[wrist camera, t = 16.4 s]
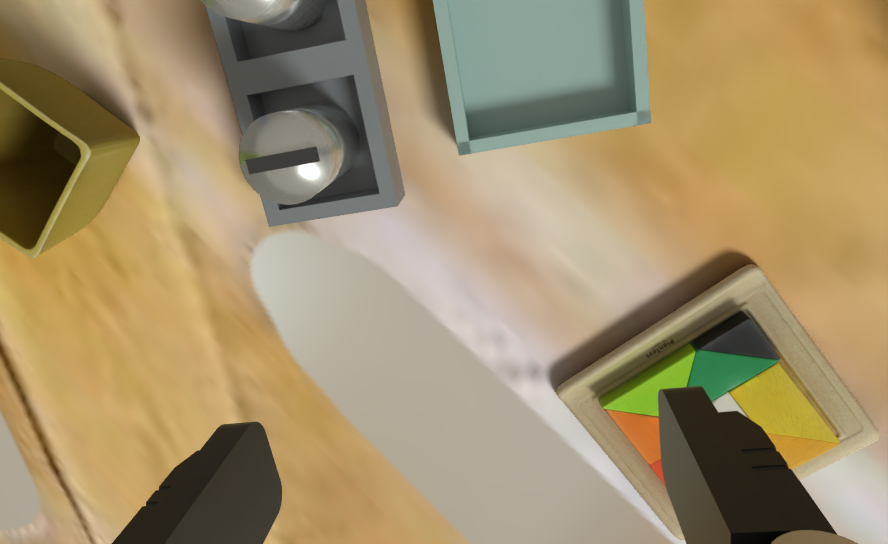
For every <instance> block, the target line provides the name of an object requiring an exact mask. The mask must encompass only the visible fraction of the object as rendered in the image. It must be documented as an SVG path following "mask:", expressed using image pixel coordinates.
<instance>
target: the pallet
mask: <svg viewBox="0 0 888 544" xmlns="http://www.w3.org/2000/svg"><path fill="white" fill-rule="evenodd" d="M206 10H207V13H208V17H209V20H210V24H211V27H212V30H213V34H214V37H215V41H216V44H217V48H218V51H219V55H220V58H221V62H222V65H223V69H224V72H225V75H226V79H227V82H228V86H229V89H230V93H231V96H232V100H233V103H234V107H235V110H236V113H237V117H238V120H239V124H240V127H241V131H242V134H244V132H245V131H246V129H247V128H248V127H249V125H250V124H251V123H252V122H254V121H255V120H256V119H258V118H260V117H262V116H264V115H267V114H271V113H275V112H279V111H284V110H288V109H293V108H297V107H301V106H306V105H310V104H315V103H327V104H332V105H335V106H337V107H339V108H341V109H342V110H344V111H345V112H346V113H347V114H348V115H349V116H350V117H351V118H352V120H353V121H354V123H355V124H356V126H357V129H358V131H359V135H360V152H359V155H358V158H357V160H356V162H355V163H354V165H353V166H352V167H351V168H350V169H349V170H348V171H347V172H346V173H344V174H343V175H341V176H340V177H339V178H337V179H336V180H335V181H333V182H332V183H331V184H329V185H328V186H327V187H325V188H324V189H323V190H321V191H320V192H319V193H317V194H316V195H315V196H313V197H312V198H310V199H309V200H307V201H305V202H302V203H298V204H292V205H284V204H278V203H275V202H272V201H270V200H268V199H266V198H264V197H262V196H261V195H260V196H261V200H262V203H263V207H264V210H265V214H266V217H267V221H268V224H269V227H270V226H277V225H283V224H289V223H295V222H302V221H308V220H314V219H320V218H327V217H333V216H339V215H345V214H352V213H358V212H364V211H370V210H377V209H383V208H389V207H395V206H398V205H399V203H400V202H401V200H402V199H403V197H404V196H405V192H404V188H403V183H402V178H401V173H400V168H399V163H398V158H397V153H396V148H395V144H394V139H393V134H392V129H391V124H390V119H389V114H388V109H387V104H386V100H385V95H384V90H383V85H382V80H381V75H380V70H379V65H378V61H377V56H376V51H375V46H374V41H373V36H372V31H371V26H370V21H369V17H368V12H367V7H366V2H365V0H328V2H327V5H326V8H325V10H324V12H323V14H322V16H321V17H320V18H319V19H318V21H317V22H315V23H314V24H313V25H312V26H310V27H308V28H306V29H304V30H300V31H285V30H280V29H276V28H271V27H267V26H263V25H258V24H254V23H249V22H245V21H241V20H236V19H232V18H228V17H224V16H222V15H219V14H217V13H215V12H214V11H212V10H211V9H209V8H208V7H207V6H206Z"/></svg>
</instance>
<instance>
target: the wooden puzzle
mask: <svg viewBox="0 0 888 544" xmlns="http://www.w3.org/2000/svg"><path fill="white" fill-rule="evenodd" d="M693 386H702V387H703V388H704V390H705V392H706V393H707V395H708V396H709V398H710V400H711V401H712V403H713V405H714V406H715V408H716V410H717V411H718V412H728V411H738V412H740V413H741V414H743V415H744V416H746V417H747V418H749V419H750V420H752V421H753V422H755V423H756V424H758V425H759V426H761V427H762V428H763V430H764V431H765V432H766V434H767V435H768V437H769V438H770V440H771V441H772V442H773V444H774V445H775V447H776V450H777V451H779V452H780V454H781V455H782V457H783V458H784V460H785V461H786V462H787V464H788V468H789V469H792V471H793V472H794V474H795V475H796V477H797V478H798V479H799V480H801V479H803V478H804V477H806V476H808V475H810V474H812V473H814V472H816V471H818V470H820V469H822V468H824V467H826V466H828V465H830V464H832V463H834V462H836V461H838V460H840V459H842V458H844V457H846V456H848V455H850V454H852V453H854V452H856V451H858V450H860V449H862V448H864V447H866V446H868V445H870V444H872V443H874V442H876V441H877V440H878V439H879V437H880V434H879V431H878V429H877V428H876V426H875V425H874V424H873V422H872V421H871V419H870V418H869V417H868V415H867V414H866V413H865V411H864V410H863V409H862V407H861V406H860V404H859V403H858V402H857V400H856V399H855V398H854V396H853V395H852V394H851V392H850V391H849V390H848V388H847V387H846V385H845V384H844V383H843V381H842V380H841V379H840V377H839V376H838V374H837V373H836V372H835V370H834V369H833V368H832V366H831V365H830V364H829V362H828V361H827V359H826V358H825V357H824V355H823V354H822V353H821V351H820V350H819V349H818V347H817V346H816V344H815V343H814V342H813V340H812V339H811V338H810V336H809V335H808V334H807V332H806V331H805V329H804V328H803V327H802V325H801V324H800V322H799V321H798V320H797V318H796V317H795V315H794V314H793V313H792V311H791V310H790V309H789V307H788V306H787V304H786V303H785V302H784V300H783V299H782V297H781V296H780V295H779V293H778V292H777V290H776V289H775V288H774V286H773V285H772V284H771V282H770V281H769V280H768V278H767V277H766V275H765V274H764V273H763V271H762V270H761V269H760V268H759V267H758V266H757V265H754V264H748V265H746V266H744V267H742V268H740V269H739V270H737V271H736V272H734V273H733V274H731V275H730V276H728V277H727V278H725V279H723V280H722V281H720V282H719V283H717V284H716V285H714V286H713V287H711V288H709V289H708V290H706V291H705V292H703V293H702V294H700V295H699V296H697V297H696V298H694V299H692V300H691V301H689V302H688V303H686V304H685V305H683V306H682V307H680V308H678V309H677V310H675V311H674V312H672V313H671V314H669V315H668V316H666V317H665V318H663V319H661V320H660V321H658V322H657V323H655V324H654V325H652V326H651V327H649V328H647V329H646V330H644V331H643V332H641V333H640V334H638V335H637V336H635V337H633V338H632V339H630V340H629V341H627V342H626V343H624V344H623V345H621V346H619V347H618V348H616V349H615V350H613V351H612V352H610V353H608V354H607V355H605V356H604V357H602V358H601V359H599V360H598V361H596V362H594V363H593V364H591V365H590V366H588V367H587V368H585V369H584V370H582V371H580V372H579V373H577V374H576V375H574V376H573V377H571V378H570V379H568V380H567V381H565V382H564V383H562V384H561V385H559V386H558V388H557V390H556V393H557V395H558V397H559V398H560V400H561V401H562V402H563V403H564V404H565V405H566V406H567V407H568V408H569V410H570V411H571V412H572V413H573V414H574V416H575V417H576V418H577V419H578V420H579V422H580V423H581V424H582V425H583V426H584V428H585V429H586V430H587V431H588V432H589V434H590V435H591V436H592V437H593V438H594V440H595V441H596V442H597V443H598V444H599V446H600V447H601V448H602V449H603V450H604V452H605V453H606V454H607V455H608V457H609V458H610V459H611V460H612V461H613V463H614V464H615V465H616V466H617V467H618V469H619V470H620V471H621V472H622V473H623V475H624V476H625V477H626V478H627V479H628V481H629V482H630V483H631V484H632V486H633V487H634V488H635V489H636V490H637V492H638V493H639V494H640V495H641V496H642V498H643V499H644V500H645V501H646V503H647V504H648V505H649V506H650V507H651V509H652V510H653V511H654V512H655V514H656V515H657V516H658V517H659V518H660V520H661V521H662V522H663V523H664V524H665V526H666V527H667V528H668V529H669V531H670V532H671V533H672V534H673V535H674V536H675V537H676V538H678V539H681V540H683V539H685V538H684V535H683V533H682V530H681V527H680V525H679V522H678V519H677V517H676V514H675V511H674V509H673V506H672V503H671V501H670V498H669V495H668V492H667V489H666V486H665V481H664V477H663V471H662V465H661V452H660V432H659V411H658V392H659V390H660V389H669V388H681V387H693Z"/></svg>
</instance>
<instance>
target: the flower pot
mask: <svg viewBox="0 0 888 544" xmlns="http://www.w3.org/2000/svg"><path fill="white" fill-rule="evenodd" d="M139 142H140V137H139V135H138V134H137V133H136V132H135V131H134V130H133V129H132V128H130V127H129V126H127V125H126V124H125V123H123V122H122V121H120V120H119V119H118V118H116V117H115V116H114V115H112V114H111V113H110V112H108V111H107V110H106V109H104V108H103V107H102V106H100V105H99V104H98V103H96V102H95V101H94V100H92V99H91V98H90V97H89V96H87V95H86V94H84V93H83V92H82V91H80V90H79V89H78V88H76V87H75V86H73V85H72V84H70V83H69V82H67V81H66V80H64V79H62V78H61V77H59V76H57V75H56V74H54V73H52V72H49V71H47V70H45V69H42V68H40V67H37V66H34V65H31V64H28V63H23V62H19V61H13V60H8V59H2V58H0V238H1V239H2V240H4V241H5V242H7V243H8V244H9V245H11V246H12V247H14V248H16V249H17V250H19V251H20V252H22V253H24V254H26V255H28V256H30V257H32V258H35V257H37V256H38V255H40V254H42V253H43V252H45V251H47V250H48V249H50V248H52V247H53V246H55V245H56V244H58V243H60V242H62V241H63V240H65V239H66V238H68V237H70V236H71V235H73V234H75V233H76V232H78V231H79V230H81V229H82V228H84V227H85V226H86V225H87V224H89V223H90V222H91V221H92V220H93V219H94V218H95V217H96V215H97V214H98V213H99V212H100V211H101V209H102V208H103V206H104V205H105V203H106V202H107V200H108V198H109V196H110V195H111V193H112V191H113V189H114V187H115V185H116V184H117V182H118V180H119V178H120V176H121V174H122V173H123V171H124V169H125V167H126V165H127V164H128V162H129V160H130V158H131V156H132V155H133V153H134V151H135V149H136V148H137V146H138V144H139Z"/></svg>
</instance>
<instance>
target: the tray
mask: <svg viewBox="0 0 888 544" xmlns="http://www.w3.org/2000/svg"><path fill="white" fill-rule="evenodd" d="M433 6H434V12H435V17H436V23H437V29H438V35H439V41H440V47H441V53H442V59H443V65H444V71H445V76H446V82H447V88H448V94H449V100H450V106H451V112H452V118H453V124H454V130H455V136H456V141H457V147H458V153H459V155H465V154H471V153H477V152H483V151H489V150H495V149H501V148H506V147H512V146H518V145H524V144H530V143H536V142H542V141H548V140H554V139H559V138H565V137H571V136H577V135H583V134H589V133H595V132H601V131H606V130H612V129H618V128H624V127H630V126H636V125H642V124H648V123H651V115H650V98H649V81H648V64H647V47H646V30H645V13H644V0H433Z"/></svg>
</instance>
